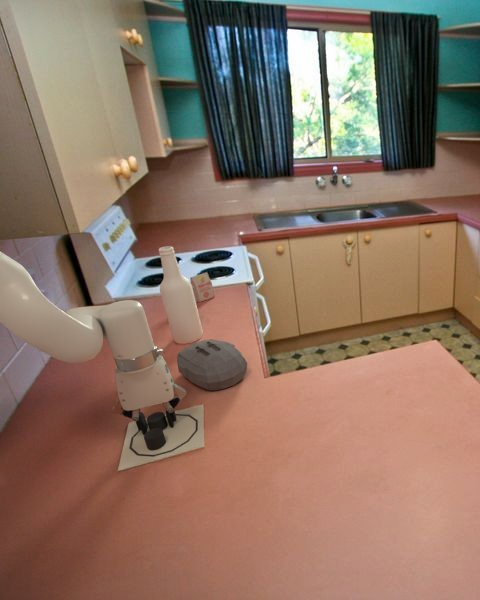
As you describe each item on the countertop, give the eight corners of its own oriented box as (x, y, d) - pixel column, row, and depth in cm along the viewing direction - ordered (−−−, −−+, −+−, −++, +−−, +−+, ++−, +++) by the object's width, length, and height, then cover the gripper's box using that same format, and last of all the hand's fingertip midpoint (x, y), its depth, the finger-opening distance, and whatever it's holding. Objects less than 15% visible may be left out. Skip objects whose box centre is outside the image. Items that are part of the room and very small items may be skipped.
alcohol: (167, 342, 134) (141, 251, 122) (188, 330, 141) (165, 242, 130) (189, 346, 131) (165, 253, 119) (209, 333, 139) (188, 244, 127)
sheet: (118, 471, 85) (117, 470, 85) (129, 423, 98) (128, 422, 98) (204, 447, 91) (204, 445, 90) (203, 405, 104) (203, 403, 104)
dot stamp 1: (149, 434, 94) (145, 424, 93) (150, 425, 97) (147, 414, 96) (167, 430, 95) (163, 419, 94) (168, 420, 98) (165, 410, 97)
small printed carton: (193, 300, 164) (187, 276, 160) (209, 295, 169) (204, 271, 165) (198, 302, 162) (193, 278, 158) (214, 297, 167) (209, 273, 163)
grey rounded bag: (171, 374, 117) (209, 402, 105) (164, 348, 113) (201, 373, 102) (222, 352, 127) (261, 374, 116) (216, 327, 124) (256, 348, 112)
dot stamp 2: (146, 452, 89) (142, 441, 88) (148, 441, 92) (144, 430, 91) (165, 447, 90) (162, 436, 89) (166, 436, 93) (163, 426, 92)
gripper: (181, 341, 95) (199, 407, 103) (93, 359, 89) (118, 428, 96) (180, 357, 89) (199, 426, 96) (85, 377, 83) (113, 449, 90)
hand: (158, 426), depth 96 cm, fingers open, 4 cm apart
